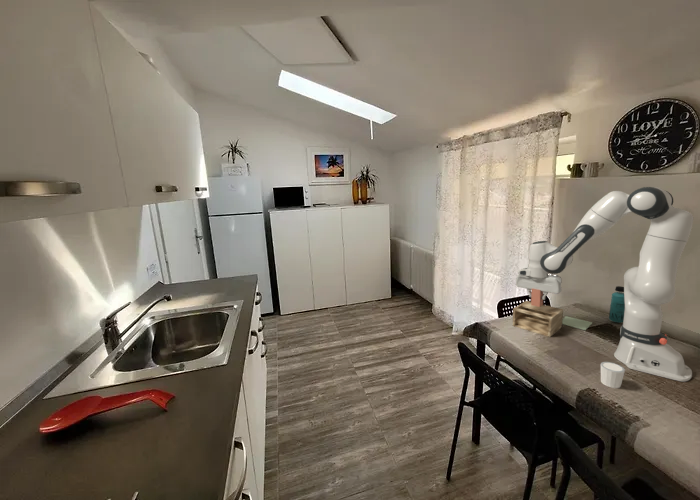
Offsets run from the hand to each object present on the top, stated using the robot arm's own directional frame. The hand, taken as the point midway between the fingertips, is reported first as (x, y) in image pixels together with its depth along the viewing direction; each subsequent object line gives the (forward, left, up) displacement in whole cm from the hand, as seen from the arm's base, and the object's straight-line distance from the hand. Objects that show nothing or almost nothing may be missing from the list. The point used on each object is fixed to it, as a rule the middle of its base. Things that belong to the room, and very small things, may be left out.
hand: (537, 298), depth 154 cm
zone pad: (-12, -21, -17) cm, 29 cm away
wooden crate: (0, -3, -17) cm, 17 cm away
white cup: (-37, +28, -17) cm, 49 cm away
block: (0, 0, -4) cm, 4 cm away
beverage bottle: (-26, -36, -17) cm, 47 cm away
